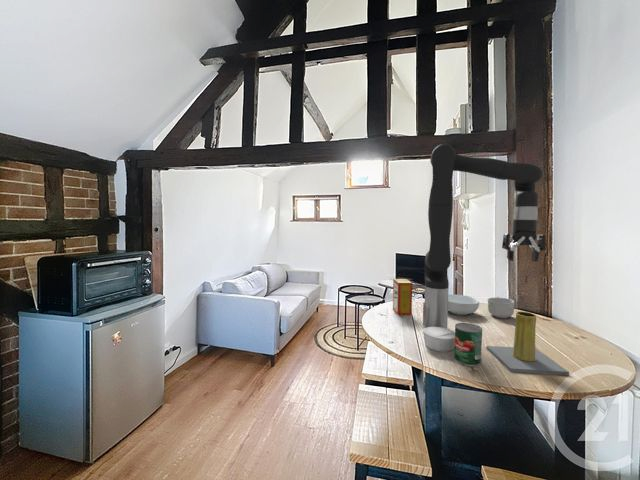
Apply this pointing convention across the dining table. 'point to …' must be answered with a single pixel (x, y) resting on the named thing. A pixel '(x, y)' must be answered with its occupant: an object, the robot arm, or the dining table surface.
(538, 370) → the slate mat
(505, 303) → the teacup
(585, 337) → the dining table surface
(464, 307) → the cereal bowl
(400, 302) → the baking soda box
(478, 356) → the canned tomato
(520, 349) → the vase
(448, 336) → the ramekin
